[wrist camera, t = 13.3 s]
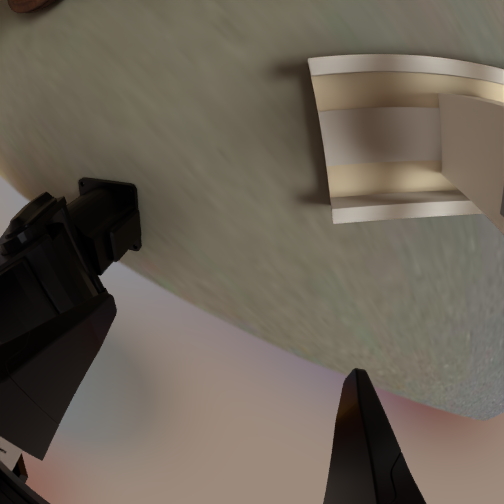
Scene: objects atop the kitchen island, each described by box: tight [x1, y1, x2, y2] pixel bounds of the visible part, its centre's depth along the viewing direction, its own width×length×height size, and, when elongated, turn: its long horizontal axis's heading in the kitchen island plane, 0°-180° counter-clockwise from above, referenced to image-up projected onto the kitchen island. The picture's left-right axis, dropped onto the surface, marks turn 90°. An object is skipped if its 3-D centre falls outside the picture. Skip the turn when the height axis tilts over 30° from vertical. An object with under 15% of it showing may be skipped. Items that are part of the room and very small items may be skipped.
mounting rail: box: [308, 54, 504, 224], centre depth 13 cm, size 20×10×3 cm, turn 103°
